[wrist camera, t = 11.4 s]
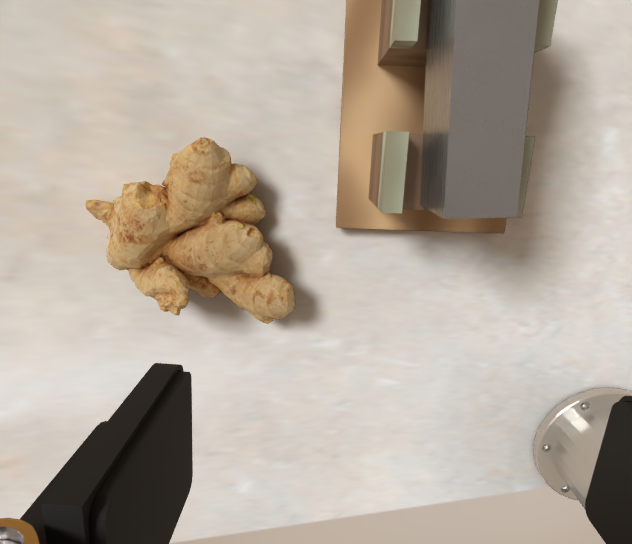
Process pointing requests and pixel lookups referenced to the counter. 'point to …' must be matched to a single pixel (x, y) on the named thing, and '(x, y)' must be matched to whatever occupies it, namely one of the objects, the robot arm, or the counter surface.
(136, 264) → the ginger root
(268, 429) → the counter surface
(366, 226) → the post rig
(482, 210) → the bracket bar
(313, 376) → the counter surface
